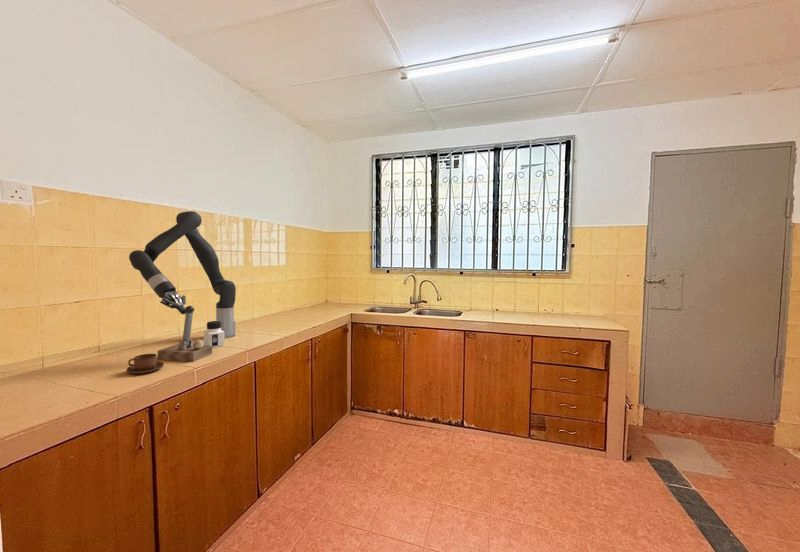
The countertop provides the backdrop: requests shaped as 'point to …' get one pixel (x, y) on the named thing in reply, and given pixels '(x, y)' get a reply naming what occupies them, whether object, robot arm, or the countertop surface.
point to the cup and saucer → (144, 364)
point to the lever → (188, 324)
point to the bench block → (185, 351)
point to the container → (214, 334)
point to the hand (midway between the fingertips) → (185, 313)
